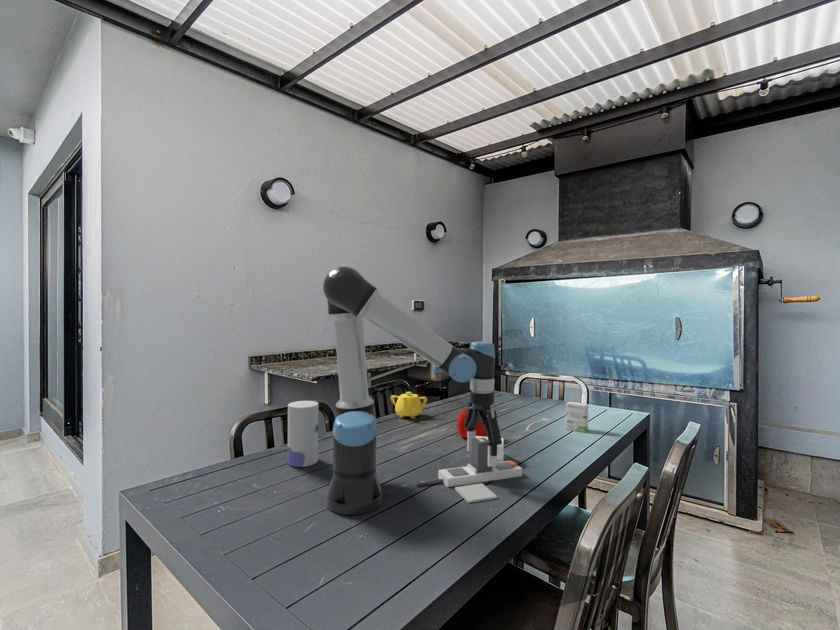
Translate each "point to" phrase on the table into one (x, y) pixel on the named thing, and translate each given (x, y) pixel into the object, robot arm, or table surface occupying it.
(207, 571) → the table surface
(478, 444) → the block
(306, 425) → the container
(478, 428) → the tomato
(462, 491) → the felt pad
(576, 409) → the ink box
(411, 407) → the yellow handled pot
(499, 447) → the mug
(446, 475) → the power strip
